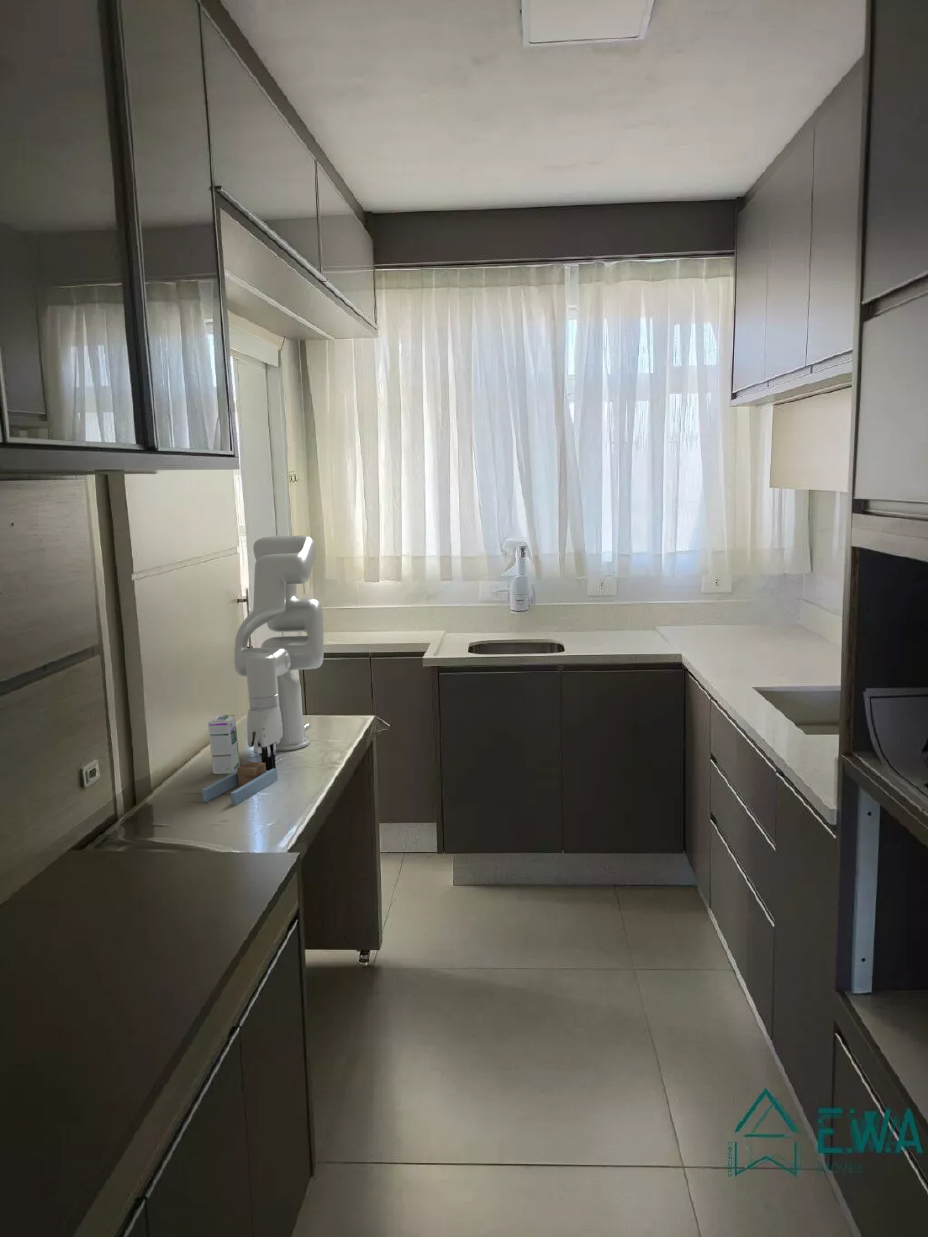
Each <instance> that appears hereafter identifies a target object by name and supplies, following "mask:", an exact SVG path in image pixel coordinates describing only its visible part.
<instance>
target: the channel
mask: <svg viewBox="0 0 928 1237" xmlns="http://www.w3.org/2000/svg"><path fill="white" fill-rule="evenodd" d="M276 780H277V781H278V769H277V768H276V769H271V770H269V771H266V773H264V774H262V775H260V776H259V777H257V778H255V779H254V780H252V781H250V782H248V783H247V784H245V785H243V786H242V787H240V786H239V783H238V771H237V770H236V771H235V772H233V773H231V774H227V775H226V776H224V777H222V778H221V779H219V780H217V781H215V782H213V783H212V784H210V785H208V786H206V787H204V788H202V789H201V794H202V802H203V803H208V802H209V801H211V800H213V799H215V798H216V797H217V798H218V796H221V795H222V794H224V793H225V792H227V791H229V790H231V789H232V788H234V787H236V786H237V785H238V786H239V787H238V788H237V789H235V790H233V791H231V792H230V800H231V801H230V802H231V806H237V805H239V804H241V803H242V802H244V801H245V800H244V799H246V798H247V799H249V798H250V797H249V796H251V797H252V796H253V795H255V794H257V793H259V792H260V791H262V790H263V789H262V788H264V787H265V788H267V787H269V786H270V785H272V784H274V783H275V782H277V781H276ZM274 781H275V782H274ZM273 782H274V783H273ZM271 783H272V784H271ZM268 785H269V786H268ZM265 788H264V789H265ZM261 789H262V790H261ZM259 790H260V791H259ZM258 791H259V792H258ZM248 797H249V798H248ZM247 799H246V800H247ZM243 800H244V801H243ZM240 802H241V803H240Z"/></svg>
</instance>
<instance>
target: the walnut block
mask: <svg viewBox="0 0 928 1237" xmlns="http://www.w3.org/2000/svg"><path fill="white" fill-rule="evenodd" d="M236 771H238V783H239V784H238V787H239V788H240V787H242V786H243V785H245V784H247V783H248V782H250V781H252V780H254V779H255V778H257V777H259V776H260V775H262V774H264V773H266V772H267V771H266V764H265V763H262V762H261V761H251V760H250V761H247V762H245V763H243V764H240V766H239V767H237V770H236Z"/></svg>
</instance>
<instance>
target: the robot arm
mask: <svg viewBox="0 0 928 1237" xmlns="http://www.w3.org/2000/svg"><path fill="white" fill-rule="evenodd" d="M315 544H316V543H315V541H314V539H313V538H312V537H310V536H309V535H282V536H281V535H278V536H266V537H261V538H259V539H257V540H255V542H254V543H253V555H254V558H255V564H254V579H253V581H254V582H253V584H254V585H253V609H252V611H251V612H250V613H249V614H248V615H247V617H245V618H244V619H243V621H242V623H241V624H240V626H239V628H238V629H237V632H236V636H235V640H234V655H233V656H234V659H233V660H234V661H233V662H234V669H235V671H236V673H237V674H238V675H239V676H241V677H244V678H245V677H246V679H247V680H246V682H247V694H248V695H247V696H248V706H249V709H248V711H247V718H246V719H247V721H246V728H247V729H246V732H247V733H246V735H247V745H248V747H251V748H253V753H254V754H259V756H260V758H261V761H260V762H261V763H265V764H266V772H267V771H269V770H271V769H277V767H276V766H277V765H276V764H277V762H276V753H277V751H279V752H284V751H285V752H286V751H293V750H298V749H302V748H304V747H307V746H308V745H309V744H310V742H311V739H310V737H309V736H307V735H306V734H305V733H306V731H307V732H308V730H310V729H311V724H310V723H305V724H304V719H303V718H304V716H303V704H302V700H303V699H302V687H301V683H300V680H299V678H298V677H297V676H296V675H295V673H294V672H293V671H294V670H295V671H296V670H297V671H298V670H299V671H301V670H315V669H319V668H320V667H321V666H322V664H323V663H324V655H325V653H324V652H325V651H324V646H325V645H324V614H323V613H324V612H323V608H322V605H321V603H320V601H319V600H318V599H315V598H312V597H311V598H310V597H307V598H305V597H304V598H303V597H302V598H297V585H301V584H305V583H306V582H308V581H309V578H310V577H311V576H310V575H311V571H312V568H313V565H314V563H315V559H316V558H315V557H316V551H317V550H316V545H315ZM265 624H266V626H267V628H268V629H269V630H270V631H272V632H274V633H298V632H299V633H300V632H303V633H306V635H291V636H290V635H288V636H273V637H269V638H267V639H265V640H264V641H263V642H262V644H261V646H260V647H249V648H248V644H249V639H250V637H251V636H252V634H253V633H254V632H256V630H257V629H258V628H260V627H261V626H263V625H265Z"/></svg>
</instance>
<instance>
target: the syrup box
mask: <svg viewBox="0 0 928 1237" xmlns="http://www.w3.org/2000/svg"><path fill="white" fill-rule="evenodd" d="M236 723H237V722H236V715H234V714H220V715H214V716H213V718H211V719H210V720H208V721H207V726H208V727H207V728H208V737H209V738H208V739H209V746H210V755H211V763H212V772H213V773H212V774H214V775H230V774H231V773H233V772H235V771H237V767H239V766H241V762H240V752H239V743H238V735H237V724H236Z"/></svg>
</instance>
